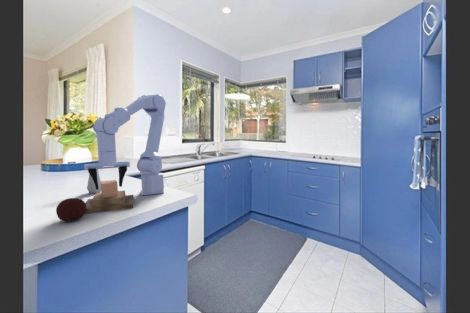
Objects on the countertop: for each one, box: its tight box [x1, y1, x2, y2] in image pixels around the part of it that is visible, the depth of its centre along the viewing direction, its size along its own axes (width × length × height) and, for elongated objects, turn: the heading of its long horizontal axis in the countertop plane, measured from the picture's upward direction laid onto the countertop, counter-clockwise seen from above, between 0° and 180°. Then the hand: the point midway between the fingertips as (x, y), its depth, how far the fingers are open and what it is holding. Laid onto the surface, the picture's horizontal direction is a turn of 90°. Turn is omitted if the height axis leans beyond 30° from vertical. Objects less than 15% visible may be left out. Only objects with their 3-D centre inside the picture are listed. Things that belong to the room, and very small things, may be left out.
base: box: [84, 190, 135, 215], centre depth 84 cm, size 16×13×4 cm
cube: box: [100, 179, 119, 198], centre depth 83 cm, size 5×5×5 cm
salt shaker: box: [86, 169, 102, 195], centre depth 100 cm, size 6×6×13 cm
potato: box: [55, 197, 86, 222], centre depth 69 cm, size 7×8×7 cm
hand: (109, 187), depth 83 cm, fingers open, 7 cm apart
